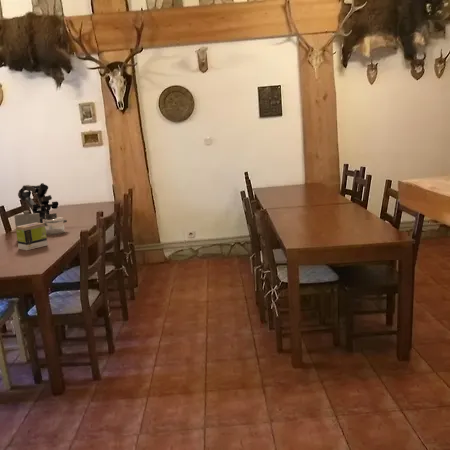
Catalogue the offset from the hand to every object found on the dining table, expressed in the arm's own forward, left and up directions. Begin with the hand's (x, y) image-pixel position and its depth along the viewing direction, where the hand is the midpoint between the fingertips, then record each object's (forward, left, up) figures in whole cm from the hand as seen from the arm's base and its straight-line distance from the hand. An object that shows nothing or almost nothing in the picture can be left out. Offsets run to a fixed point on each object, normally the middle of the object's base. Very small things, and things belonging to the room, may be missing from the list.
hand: (48, 215), depth 382 cm
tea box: (+45, -27, -12) cm, 54 cm away
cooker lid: (+10, 0, -2) cm, 10 cm away
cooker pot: (+10, 0, -12) cm, 15 cm away
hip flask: (+19, -21, -12) cm, 31 cm away
